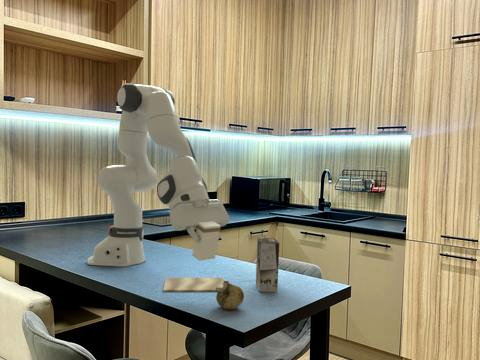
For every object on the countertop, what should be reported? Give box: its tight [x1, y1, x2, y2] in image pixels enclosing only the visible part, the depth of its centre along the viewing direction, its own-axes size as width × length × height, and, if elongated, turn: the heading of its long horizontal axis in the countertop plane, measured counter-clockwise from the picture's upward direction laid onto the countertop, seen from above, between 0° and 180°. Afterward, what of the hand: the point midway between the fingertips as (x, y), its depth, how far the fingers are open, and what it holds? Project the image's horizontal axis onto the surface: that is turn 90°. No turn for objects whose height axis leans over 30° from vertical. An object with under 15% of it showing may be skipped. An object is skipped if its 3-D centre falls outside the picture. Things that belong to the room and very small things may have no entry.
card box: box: [191, 221, 222, 262], centre depth 134 cm, size 4×6×11 cm
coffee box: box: [255, 237, 280, 293], centre depth 143 cm, size 9×6×16 cm
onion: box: [215, 280, 245, 310], centre depth 123 cm, size 8×8×8 cm
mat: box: [162, 277, 225, 293], centre depth 144 cm, size 20×14×1 cm
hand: (207, 240), depth 133 cm, fingers closed on card box, 6 cm apart
